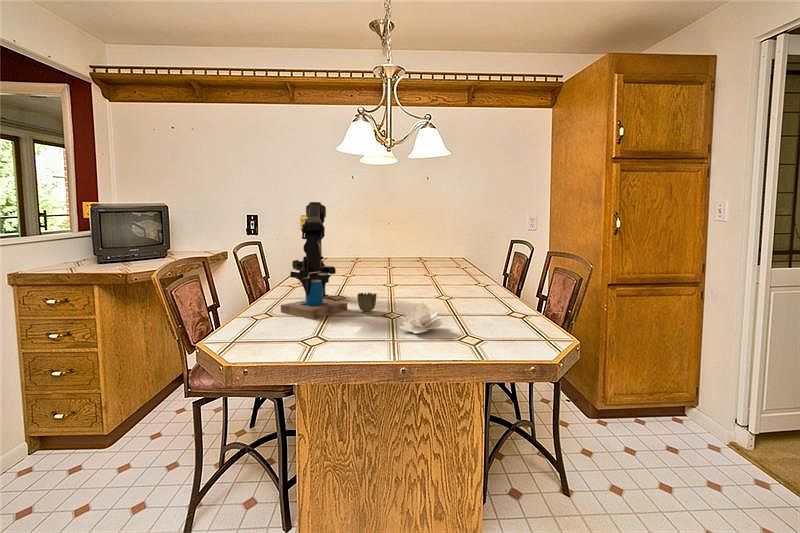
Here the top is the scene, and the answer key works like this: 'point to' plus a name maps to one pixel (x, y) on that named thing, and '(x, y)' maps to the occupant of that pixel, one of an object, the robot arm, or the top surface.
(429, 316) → the lotus flower
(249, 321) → the top surface
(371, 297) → the cup
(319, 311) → the can holder
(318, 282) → the beverage can
